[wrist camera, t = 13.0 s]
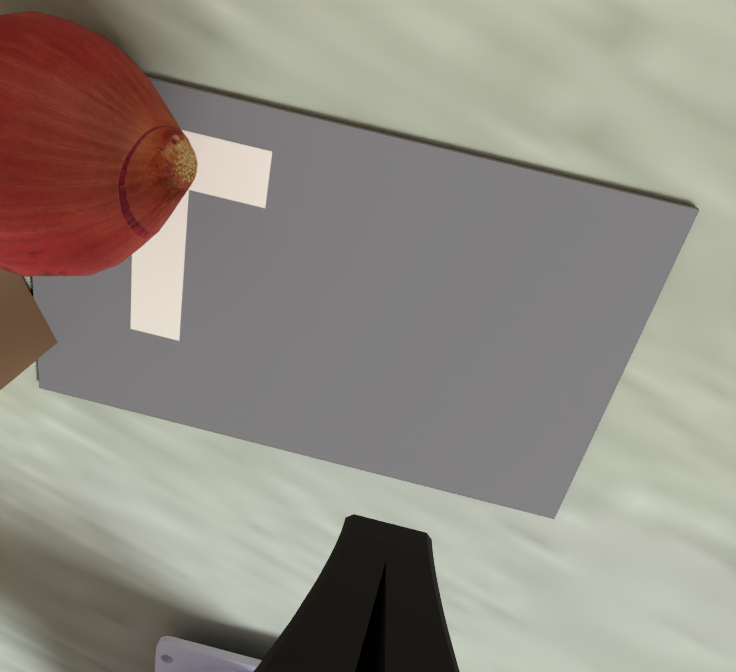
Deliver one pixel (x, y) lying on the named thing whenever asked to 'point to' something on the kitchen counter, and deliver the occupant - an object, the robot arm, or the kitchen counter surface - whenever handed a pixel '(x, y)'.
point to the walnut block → (20, 328)
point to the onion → (80, 150)
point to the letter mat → (372, 303)
